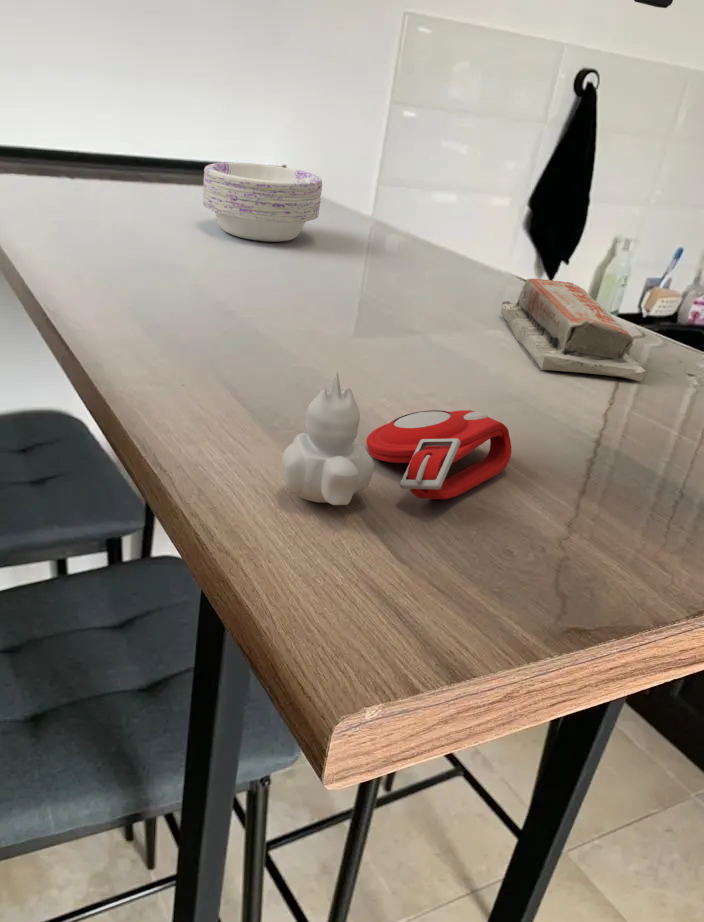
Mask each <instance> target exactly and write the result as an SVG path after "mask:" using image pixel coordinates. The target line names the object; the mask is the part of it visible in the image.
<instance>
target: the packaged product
mask: <svg viewBox="0 0 704 922" xmlns="http://www.w3.org/2000/svg"><path fill="white" fill-rule="evenodd" d="M500 315H501V316H502V317H503V319H504V320H505V321H506V322H507V324H508V326H509V328H510V329H511V331H512V333H513V335H514V337H515V338H516V341H518V342H519V343H520V344H521V345H522V346H523V347H524V348H525V349H526V351H527V352H528V354H529V355H530V356H531V358H532V359H533V360H534V361H535V363H536V364H537V365H538V367H539V368H540V370H542V371H557V372H569V373H580V374H581V373H582V374H589V375H599V376H606V377H615V378H621V379H627V380H633V381H637V382H642V380H643V379H644V375H645V374H646V372H647V370H646V369H644V368H643V367H642V366H640V364H639V363H638V362H637V361H636V360H635V359H633V358H632V357H631V355H629V354H627V352H628V351H629V350H630V347H632V346H633V344H634V343H633V341H634V340H633V337H632V335H631V334H630V333H629V332H628V331H627V330H626V329H625V328H624V326H623V325H621V324H620V323H619V322H618V321H617V319H615V318H614V317H613V316H612V315H611V314H610V313H609V312H608V311H606V309H605V308H603V307H602V306H601V304H599V303H598V302H597V301H596V299H595V298H593V297H592V296H591V294H589V293H588V292H587V291H586V290H585V289H584V288H582V287H581V286H579V285H577V284H574V283H573V282H570V281H561V280H554V279H553V280H552V279H551V280H550V279H542V278H526V279H525V282H524V284H523V285H522V290H521V292H520V294H519V296H518V299H517V302H516V303H512V302H511V301H510V300H504V301H502V302H501V309H500Z"/></svg>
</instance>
